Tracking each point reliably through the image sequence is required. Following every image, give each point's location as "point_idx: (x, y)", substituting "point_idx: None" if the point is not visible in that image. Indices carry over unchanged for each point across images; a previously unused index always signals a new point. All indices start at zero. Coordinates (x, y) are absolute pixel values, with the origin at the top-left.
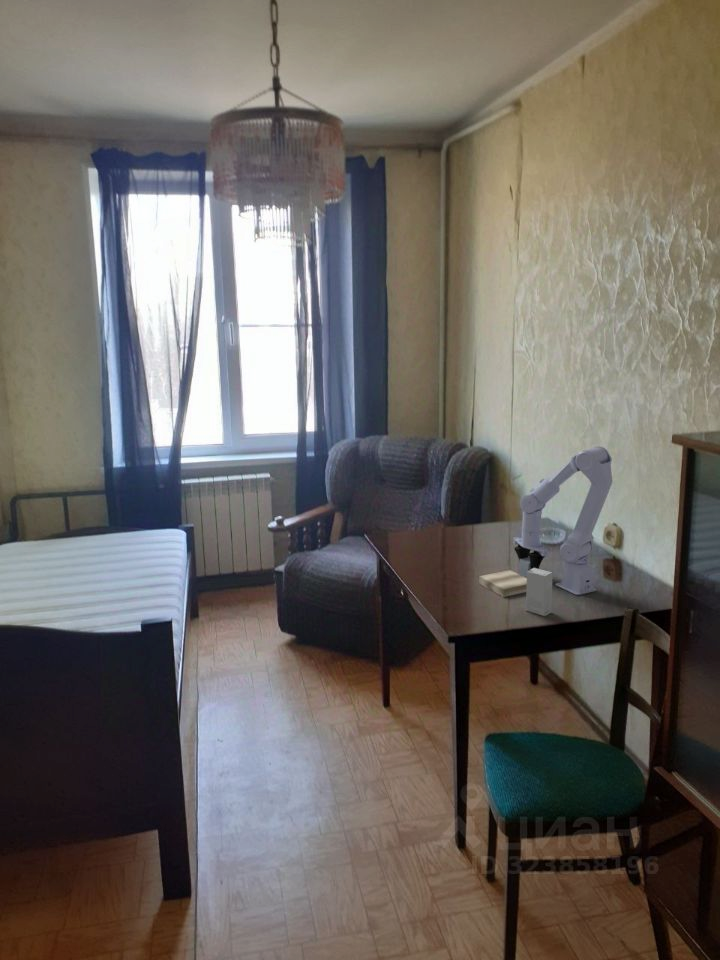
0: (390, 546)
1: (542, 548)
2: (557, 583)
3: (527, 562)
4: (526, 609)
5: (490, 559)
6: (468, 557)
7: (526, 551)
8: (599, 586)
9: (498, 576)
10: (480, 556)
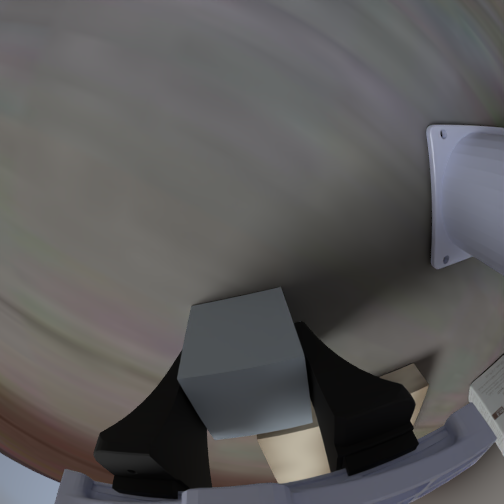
0: (27, 464)
1: (449, 476)
2: (438, 257)
3: (293, 424)
4: (470, 401)
5: (35, 375)
6: (37, 414)
7: (184, 449)
8: (482, 70)
9: (309, 466)
10: (17, 383)
